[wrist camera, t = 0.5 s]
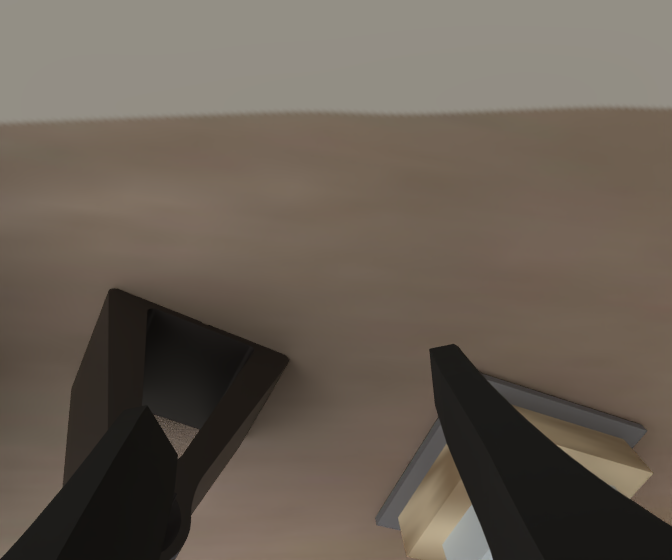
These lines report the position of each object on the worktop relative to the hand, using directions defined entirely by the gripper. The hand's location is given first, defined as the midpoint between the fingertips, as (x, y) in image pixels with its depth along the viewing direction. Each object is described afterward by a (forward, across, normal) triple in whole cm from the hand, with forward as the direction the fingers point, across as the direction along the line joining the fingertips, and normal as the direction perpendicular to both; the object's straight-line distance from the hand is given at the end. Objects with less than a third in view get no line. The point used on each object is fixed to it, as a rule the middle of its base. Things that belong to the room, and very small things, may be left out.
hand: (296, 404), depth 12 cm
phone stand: (+10, +7, +6) cm, 14 cm away
